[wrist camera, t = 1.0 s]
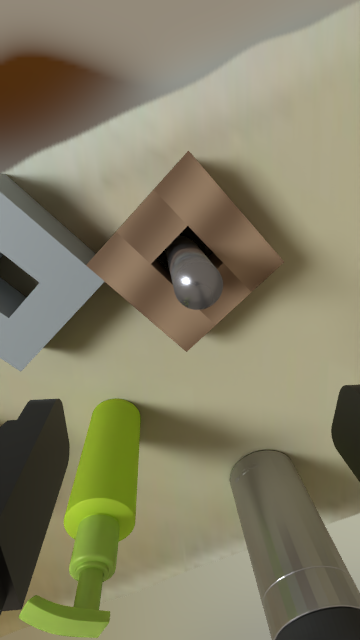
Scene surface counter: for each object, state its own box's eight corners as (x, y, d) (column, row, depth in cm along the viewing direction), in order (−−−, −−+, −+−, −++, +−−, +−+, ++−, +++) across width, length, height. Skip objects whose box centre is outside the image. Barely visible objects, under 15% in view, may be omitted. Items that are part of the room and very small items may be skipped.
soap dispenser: (95, 388, 36) (36, 592, 18) (148, 408, 38) (145, 613, 20) (76, 425, 38) (4, 644, 20) (128, 443, 40) (107, 660, 21)
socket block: (111, 268, 31) (104, 281, 26) (38, 346, 34) (20, 371, 29) (5, 174, 27) (-25, 170, 23) (-68, 271, 30) (-108, 285, 25)
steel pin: (204, 252, 31) (233, 285, 20) (182, 275, 32) (197, 319, 21) (182, 229, 30) (199, 251, 19) (159, 253, 31) (163, 287, 20)
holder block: (265, 251, 32) (284, 261, 27) (181, 330, 34) (186, 351, 30) (182, 157, 28) (188, 150, 23) (95, 254, 30) (85, 265, 26)
